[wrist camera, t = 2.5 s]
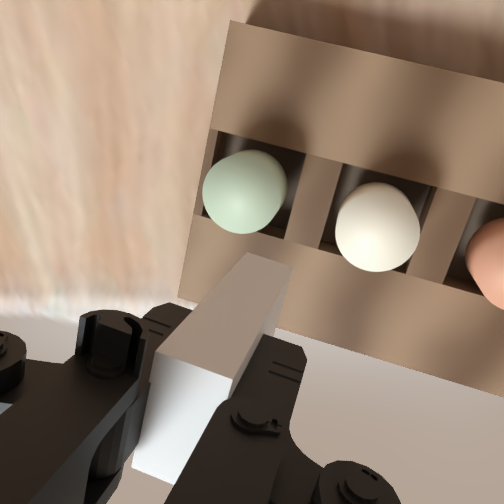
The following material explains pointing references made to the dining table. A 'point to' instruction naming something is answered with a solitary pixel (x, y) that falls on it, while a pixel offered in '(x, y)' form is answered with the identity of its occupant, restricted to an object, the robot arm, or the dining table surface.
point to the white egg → (377, 227)
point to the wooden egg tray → (352, 176)
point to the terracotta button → (488, 260)
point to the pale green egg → (244, 191)
